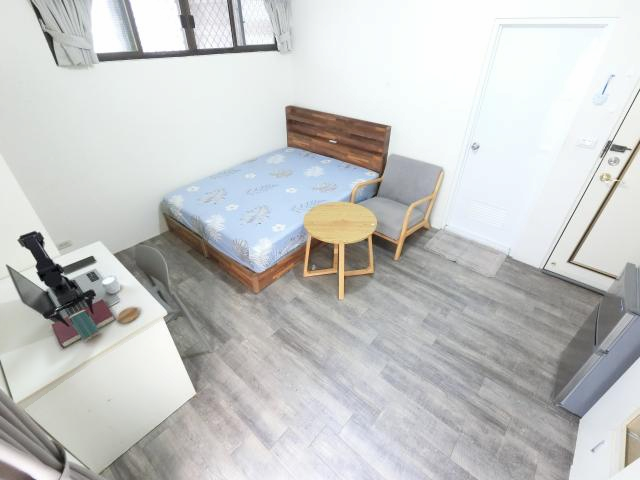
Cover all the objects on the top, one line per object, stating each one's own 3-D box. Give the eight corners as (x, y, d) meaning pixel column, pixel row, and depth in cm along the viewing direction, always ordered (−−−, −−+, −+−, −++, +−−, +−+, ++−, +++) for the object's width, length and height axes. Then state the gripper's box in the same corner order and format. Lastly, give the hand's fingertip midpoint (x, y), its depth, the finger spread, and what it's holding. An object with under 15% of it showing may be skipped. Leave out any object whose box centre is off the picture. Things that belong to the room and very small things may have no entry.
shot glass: (115, 295, 154) (109, 285, 150) (103, 293, 155) (97, 283, 151) (124, 286, 160) (119, 276, 155) (113, 284, 161) (107, 274, 157)
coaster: (113, 320, 142) (113, 319, 141) (128, 306, 148) (128, 305, 148) (128, 325, 139) (128, 324, 139) (143, 310, 146) (143, 309, 146)
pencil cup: (78, 330, 137) (64, 311, 129) (95, 322, 141) (81, 303, 133) (87, 348, 130) (72, 329, 122) (104, 338, 134) (90, 319, 126)
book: (54, 328, 138) (51, 324, 136) (105, 302, 150) (102, 298, 148) (63, 348, 130) (59, 344, 128) (115, 319, 142) (113, 315, 140)
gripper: (29, 299, 119) (51, 333, 119) (83, 275, 130) (103, 306, 130) (37, 302, 128) (57, 334, 128) (87, 280, 139) (105, 308, 139)
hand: (81, 320), depth 131 cm, fingers open, 9 cm apart
